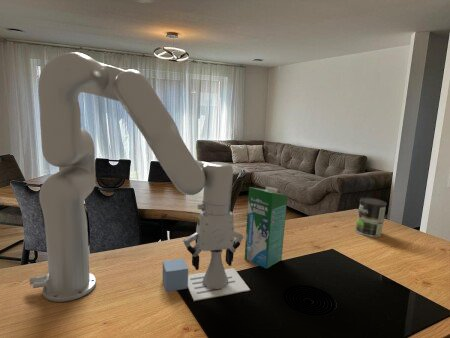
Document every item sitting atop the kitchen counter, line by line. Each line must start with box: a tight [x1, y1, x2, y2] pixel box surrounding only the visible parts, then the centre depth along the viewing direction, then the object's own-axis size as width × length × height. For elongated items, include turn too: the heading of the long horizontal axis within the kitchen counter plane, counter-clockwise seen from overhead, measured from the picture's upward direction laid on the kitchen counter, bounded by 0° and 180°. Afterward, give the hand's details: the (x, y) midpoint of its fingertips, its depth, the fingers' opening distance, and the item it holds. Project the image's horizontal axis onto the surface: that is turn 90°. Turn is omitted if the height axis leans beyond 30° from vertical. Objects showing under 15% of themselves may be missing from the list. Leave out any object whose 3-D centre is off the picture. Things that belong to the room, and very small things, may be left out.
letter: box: [187, 267, 251, 302], centre depth 85 cm, size 16×12×1 cm
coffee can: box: [355, 197, 387, 238], centre depth 127 cm, size 10×10×14 cm
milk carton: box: [244, 186, 288, 270], centre depth 98 cm, size 9×9×25 cm
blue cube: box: [162, 258, 189, 293], centre depth 83 cm, size 6×6×6 cm
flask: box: [202, 249, 228, 289], centre depth 84 cm, size 7×7×10 cm
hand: (212, 265), depth 84 cm, fingers open, 9 cm apart
